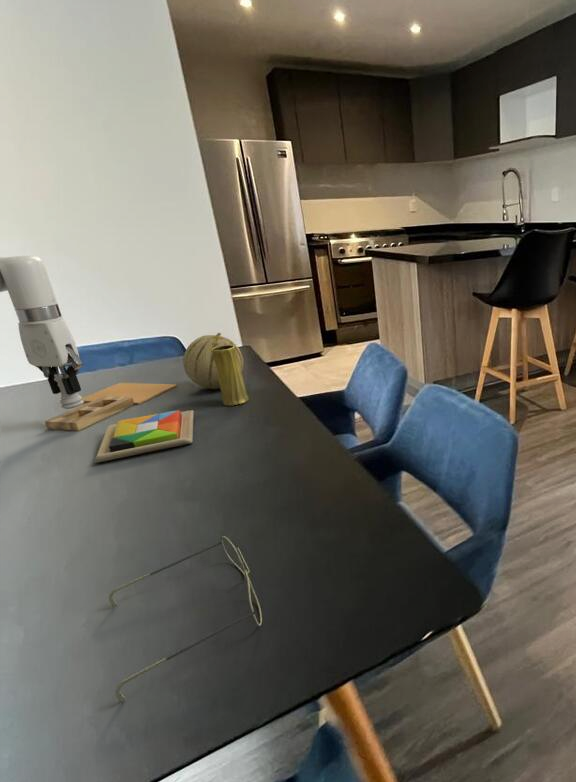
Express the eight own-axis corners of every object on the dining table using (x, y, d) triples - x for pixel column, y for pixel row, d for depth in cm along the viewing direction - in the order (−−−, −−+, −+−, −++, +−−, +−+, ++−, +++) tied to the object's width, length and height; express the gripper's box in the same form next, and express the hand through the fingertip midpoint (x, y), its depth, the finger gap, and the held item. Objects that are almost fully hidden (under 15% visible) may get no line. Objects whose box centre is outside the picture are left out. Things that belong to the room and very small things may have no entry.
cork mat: (77, 402, 132) (76, 400, 132) (120, 384, 144) (119, 382, 144) (139, 404, 127) (138, 402, 127) (177, 386, 140) (177, 384, 140)
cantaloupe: (184, 388, 137) (169, 336, 132) (236, 375, 146) (224, 325, 141) (201, 401, 127) (186, 344, 121) (256, 385, 136) (245, 332, 130)
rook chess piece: (64, 410, 114) (50, 378, 111) (60, 407, 117) (47, 375, 114) (86, 404, 117) (74, 372, 114) (82, 401, 120) (70, 369, 117)
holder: (47, 429, 115) (44, 421, 114) (106, 403, 130) (103, 396, 129) (78, 430, 113) (75, 422, 112) (134, 404, 128) (132, 397, 127)
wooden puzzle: (94, 467, 95) (87, 451, 94) (111, 431, 112) (106, 417, 110) (192, 446, 102) (188, 431, 100) (195, 415, 118) (191, 402, 116)
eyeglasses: (272, 628, 56) (263, 594, 54) (119, 704, 48) (102, 667, 46) (237, 556, 68) (229, 526, 66) (111, 607, 60) (97, 575, 58)
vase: (218, 403, 124) (204, 349, 119) (239, 396, 129) (227, 343, 123) (232, 408, 121) (218, 352, 116) (253, 399, 126) (241, 345, 120)
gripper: (-8, 317, 107) (24, 396, 114) (53, 318, 103) (81, 399, 110) (27, 311, 114) (54, 385, 120) (84, 311, 110) (109, 388, 117)
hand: (67, 391), depth 115 cm, fingers closed on rook chess piece, 3 cm apart
